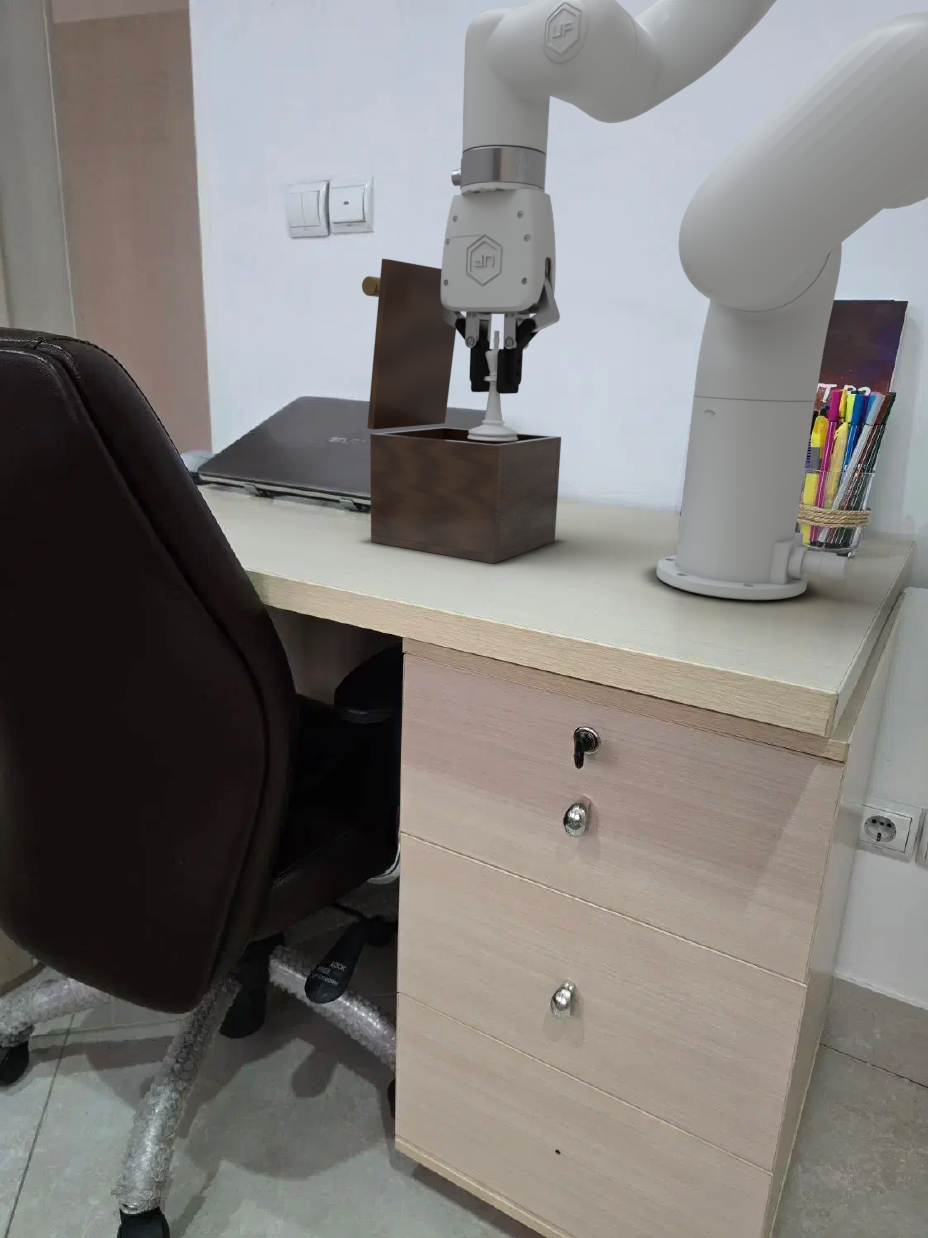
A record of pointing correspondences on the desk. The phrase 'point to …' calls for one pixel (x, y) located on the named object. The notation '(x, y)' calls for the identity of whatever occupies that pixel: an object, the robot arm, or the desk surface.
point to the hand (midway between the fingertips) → (494, 390)
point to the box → (463, 492)
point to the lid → (409, 347)
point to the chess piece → (493, 406)
